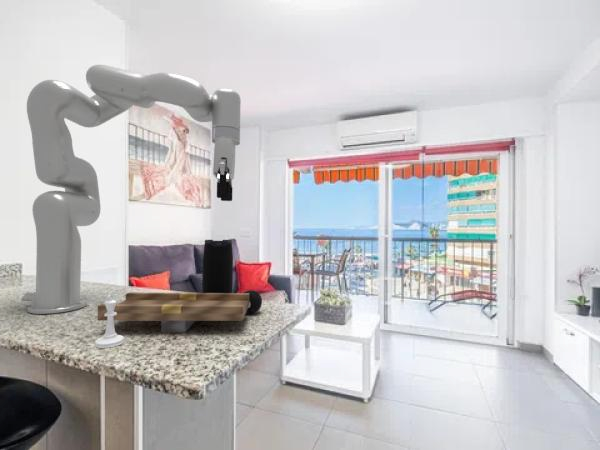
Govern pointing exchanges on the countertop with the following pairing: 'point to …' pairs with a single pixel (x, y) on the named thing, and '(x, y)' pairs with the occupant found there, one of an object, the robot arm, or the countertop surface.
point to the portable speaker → (217, 267)
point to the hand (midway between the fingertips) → (224, 199)
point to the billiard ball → (254, 301)
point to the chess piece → (110, 327)
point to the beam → (180, 308)
